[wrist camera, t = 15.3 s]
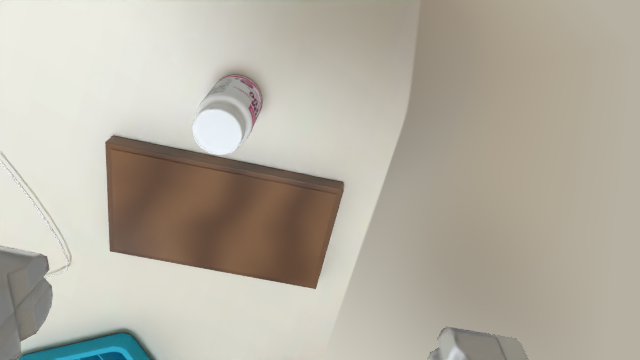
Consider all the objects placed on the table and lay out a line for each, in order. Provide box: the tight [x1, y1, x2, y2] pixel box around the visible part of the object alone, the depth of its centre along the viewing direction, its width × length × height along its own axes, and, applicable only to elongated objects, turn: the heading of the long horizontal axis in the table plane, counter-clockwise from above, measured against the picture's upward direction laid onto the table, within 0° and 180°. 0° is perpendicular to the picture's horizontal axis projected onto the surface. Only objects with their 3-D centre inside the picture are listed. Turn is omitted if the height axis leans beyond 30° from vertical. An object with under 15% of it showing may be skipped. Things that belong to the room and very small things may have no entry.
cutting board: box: [106, 136, 343, 289], centre depth 47 cm, size 24×14×2 cm, turn 78°
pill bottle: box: [192, 75, 262, 155], centre depth 38 cm, size 5×5×8 cm
